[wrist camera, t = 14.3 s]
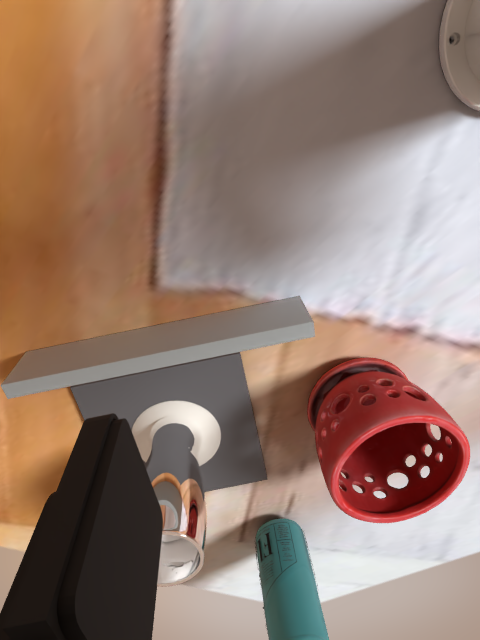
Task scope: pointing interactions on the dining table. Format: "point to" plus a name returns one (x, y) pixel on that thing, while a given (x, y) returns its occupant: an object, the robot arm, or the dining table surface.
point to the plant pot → (383, 441)
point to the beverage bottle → (288, 583)
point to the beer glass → (178, 497)
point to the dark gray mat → (188, 413)
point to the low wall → (159, 346)
